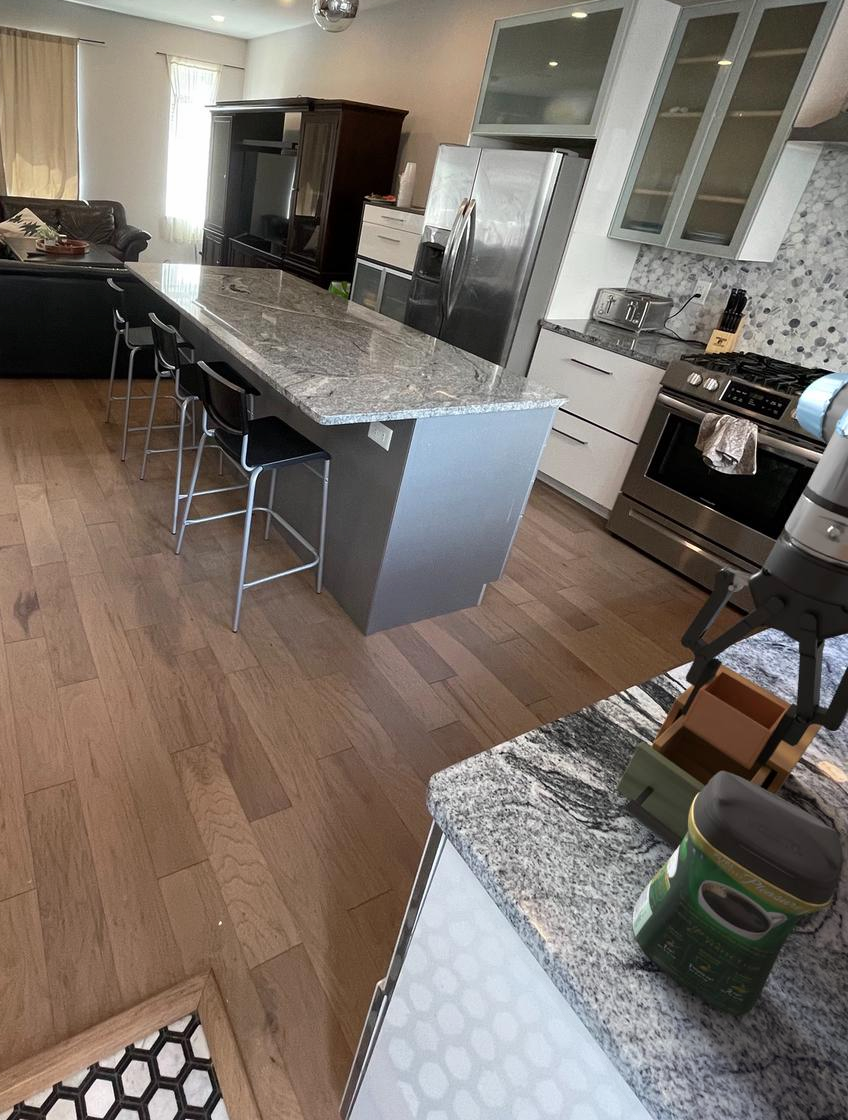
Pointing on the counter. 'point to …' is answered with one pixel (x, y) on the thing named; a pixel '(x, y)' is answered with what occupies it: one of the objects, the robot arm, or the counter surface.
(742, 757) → the brown open box
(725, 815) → the coffee jar
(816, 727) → the cabinet
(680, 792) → the drawer
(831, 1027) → the counter surface
